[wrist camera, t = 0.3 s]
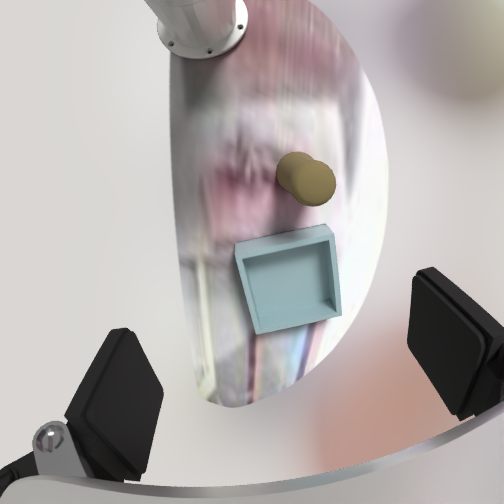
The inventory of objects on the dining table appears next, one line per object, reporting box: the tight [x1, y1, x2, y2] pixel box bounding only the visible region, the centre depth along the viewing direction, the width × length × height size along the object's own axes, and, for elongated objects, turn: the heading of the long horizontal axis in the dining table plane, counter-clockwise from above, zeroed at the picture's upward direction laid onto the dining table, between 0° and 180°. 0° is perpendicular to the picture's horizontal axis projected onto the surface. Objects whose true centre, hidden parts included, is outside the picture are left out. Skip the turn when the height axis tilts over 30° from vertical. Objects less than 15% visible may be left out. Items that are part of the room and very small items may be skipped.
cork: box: [276, 152, 336, 207], centre depth 36 cm, size 6×6×11 cm
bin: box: [235, 224, 342, 335], centre depth 44 cm, size 14×14×4 cm
